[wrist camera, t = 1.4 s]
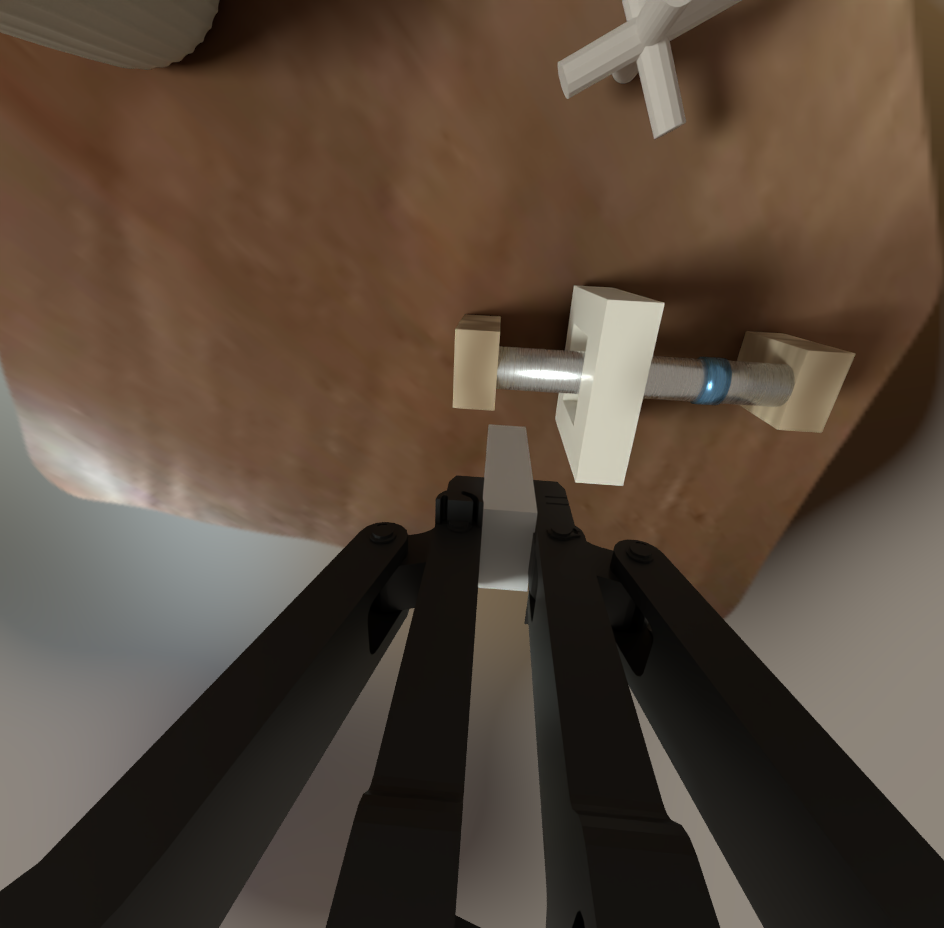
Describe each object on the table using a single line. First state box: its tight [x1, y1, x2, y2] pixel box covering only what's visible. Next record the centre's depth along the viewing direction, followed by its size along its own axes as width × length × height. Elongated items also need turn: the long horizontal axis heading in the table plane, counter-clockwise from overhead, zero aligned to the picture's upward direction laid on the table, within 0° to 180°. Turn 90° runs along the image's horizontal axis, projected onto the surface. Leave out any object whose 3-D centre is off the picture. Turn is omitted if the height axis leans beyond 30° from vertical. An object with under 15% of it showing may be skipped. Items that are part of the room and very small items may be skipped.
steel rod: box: [496, 346, 795, 407], centre depth 31 cm, size 25×3×3 cm, turn 87°
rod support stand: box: [453, 314, 856, 433], centre depth 33 cm, size 26×6×8 cm, turn 87°
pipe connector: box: [558, 0, 742, 140], centre depth 24 cm, size 10×10×10 cm
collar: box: [555, 285, 665, 486], centre depth 31 cm, size 3×11×12 cm, turn 177°
